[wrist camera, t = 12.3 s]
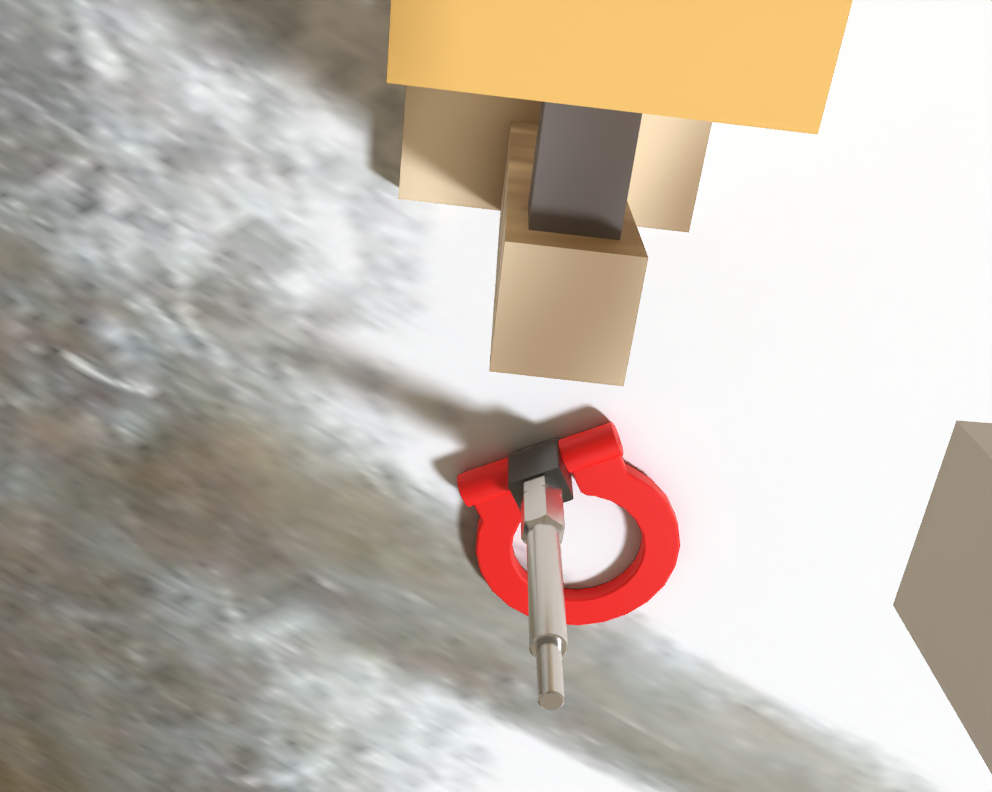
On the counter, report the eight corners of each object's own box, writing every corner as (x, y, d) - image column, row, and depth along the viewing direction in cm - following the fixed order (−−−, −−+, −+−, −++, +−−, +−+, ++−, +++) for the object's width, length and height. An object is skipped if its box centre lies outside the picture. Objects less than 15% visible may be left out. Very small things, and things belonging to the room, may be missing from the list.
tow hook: (700, 574, 41) (631, 403, 37) (771, 842, 30) (685, 641, 26) (520, 629, 43) (435, 471, 39) (524, 902, 32) (406, 722, 28)
